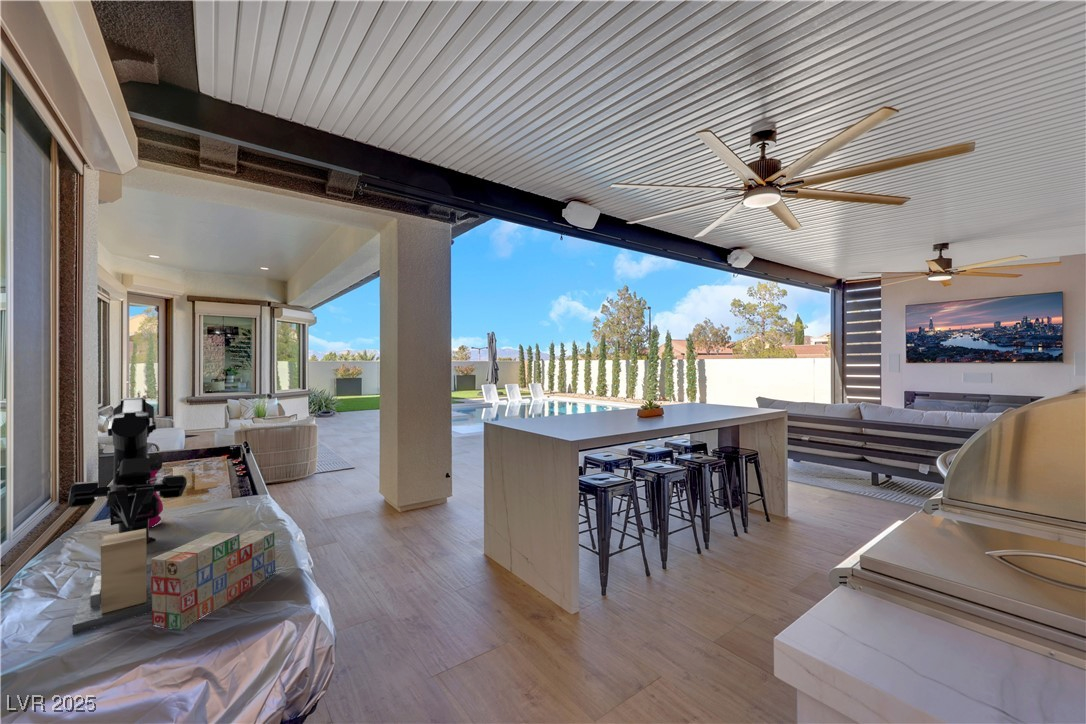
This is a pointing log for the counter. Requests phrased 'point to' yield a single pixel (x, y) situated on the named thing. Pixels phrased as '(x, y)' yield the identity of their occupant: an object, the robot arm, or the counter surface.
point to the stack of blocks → (208, 575)
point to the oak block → (123, 570)
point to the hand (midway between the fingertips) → (130, 526)
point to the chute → (91, 606)
